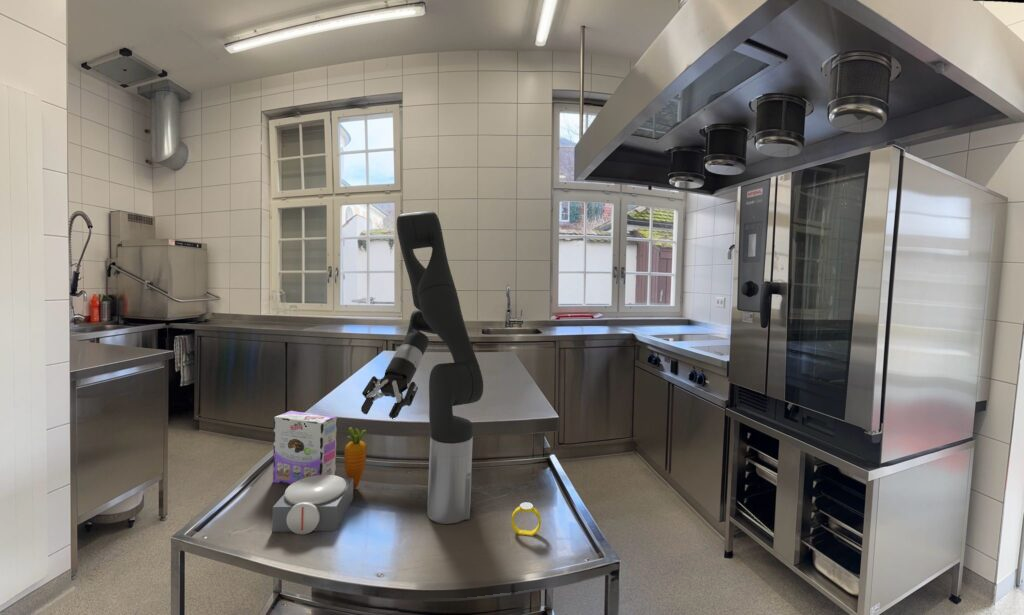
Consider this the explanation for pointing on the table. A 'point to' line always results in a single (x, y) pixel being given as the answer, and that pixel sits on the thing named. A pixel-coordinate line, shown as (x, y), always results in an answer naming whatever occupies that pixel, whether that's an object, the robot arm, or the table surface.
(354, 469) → the carrot
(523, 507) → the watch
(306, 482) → the scale pan
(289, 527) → the scale base
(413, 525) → the table surface
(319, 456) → the candy box
